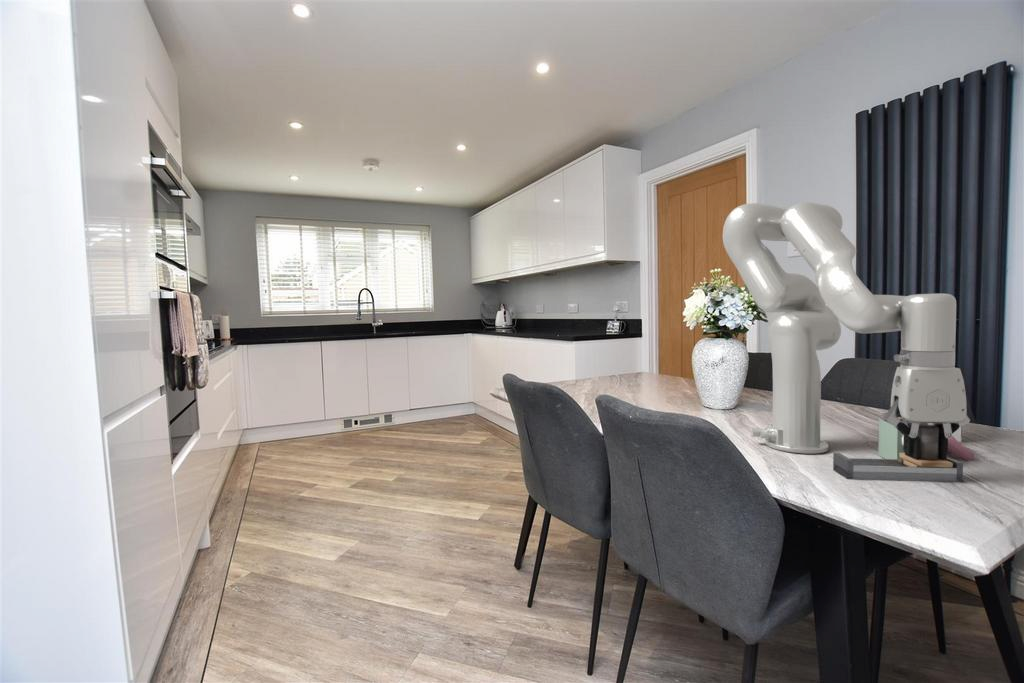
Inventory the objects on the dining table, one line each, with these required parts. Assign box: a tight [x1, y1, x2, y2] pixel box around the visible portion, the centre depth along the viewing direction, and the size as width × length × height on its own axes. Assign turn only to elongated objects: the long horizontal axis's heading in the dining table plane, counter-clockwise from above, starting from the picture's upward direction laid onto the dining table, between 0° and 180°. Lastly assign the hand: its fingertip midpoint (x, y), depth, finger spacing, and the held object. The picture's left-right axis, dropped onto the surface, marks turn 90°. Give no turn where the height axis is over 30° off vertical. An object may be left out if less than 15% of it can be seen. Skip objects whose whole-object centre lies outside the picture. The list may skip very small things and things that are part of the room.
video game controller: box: [947, 436, 975, 461], centre depth 100 cm, size 10×5×7 cm, turn 154°
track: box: [832, 452, 964, 483], centre depth 87 cm, size 19×5×4 cm, turn 81°
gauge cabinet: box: [877, 412, 928, 459], centre depth 96 cm, size 6×7×9 cm
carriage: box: [899, 424, 953, 467], centre depth 86 cm, size 5×6×8 cm
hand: (925, 456), depth 86 cm, fingers closed on carriage, 3 cm apart
